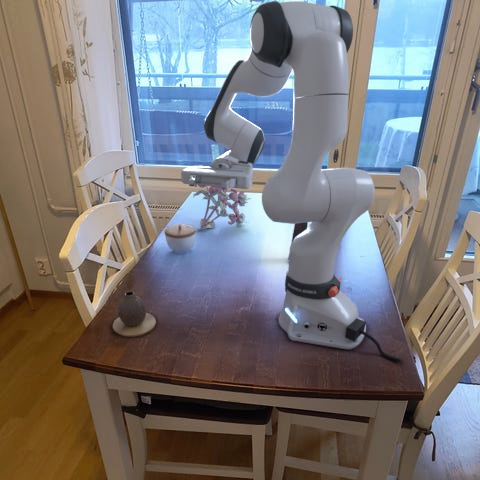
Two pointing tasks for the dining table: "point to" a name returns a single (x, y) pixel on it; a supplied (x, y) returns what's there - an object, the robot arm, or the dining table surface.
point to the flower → (222, 205)
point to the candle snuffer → (299, 229)
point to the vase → (131, 309)
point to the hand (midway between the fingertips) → (207, 184)
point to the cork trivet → (136, 330)
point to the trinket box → (180, 237)
